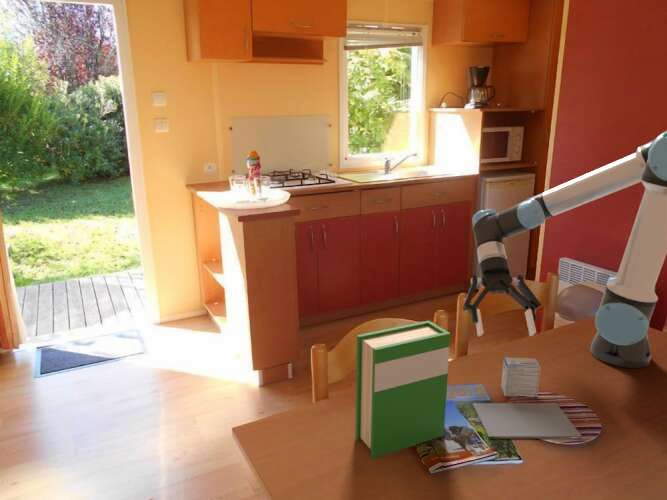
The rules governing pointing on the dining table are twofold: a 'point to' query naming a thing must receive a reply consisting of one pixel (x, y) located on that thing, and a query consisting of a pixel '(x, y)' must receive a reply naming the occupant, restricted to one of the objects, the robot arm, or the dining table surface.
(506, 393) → the medicine box
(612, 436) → the dining table surface
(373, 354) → the hardback book
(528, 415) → the mat
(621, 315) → the robot arm
